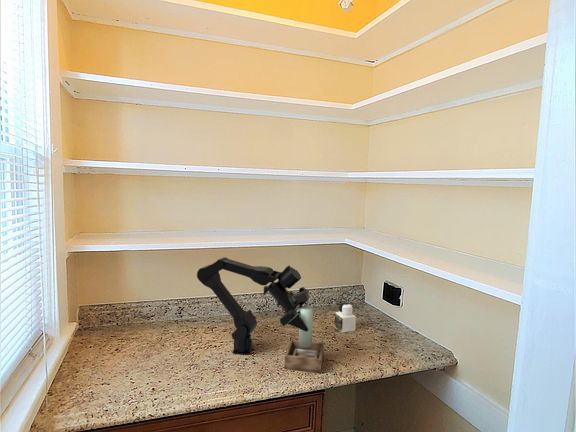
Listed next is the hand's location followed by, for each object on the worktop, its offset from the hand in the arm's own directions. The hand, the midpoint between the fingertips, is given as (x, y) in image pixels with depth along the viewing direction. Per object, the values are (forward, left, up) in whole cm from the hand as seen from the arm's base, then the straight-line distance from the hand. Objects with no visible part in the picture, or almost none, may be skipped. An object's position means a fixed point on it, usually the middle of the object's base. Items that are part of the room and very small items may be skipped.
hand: (309, 328), depth 130 cm
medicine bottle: (+13, +34, -14) cm, 39 cm away
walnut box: (-1, 0, -13) cm, 14 cm away
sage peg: (-1, 0, -7) cm, 7 cm away
